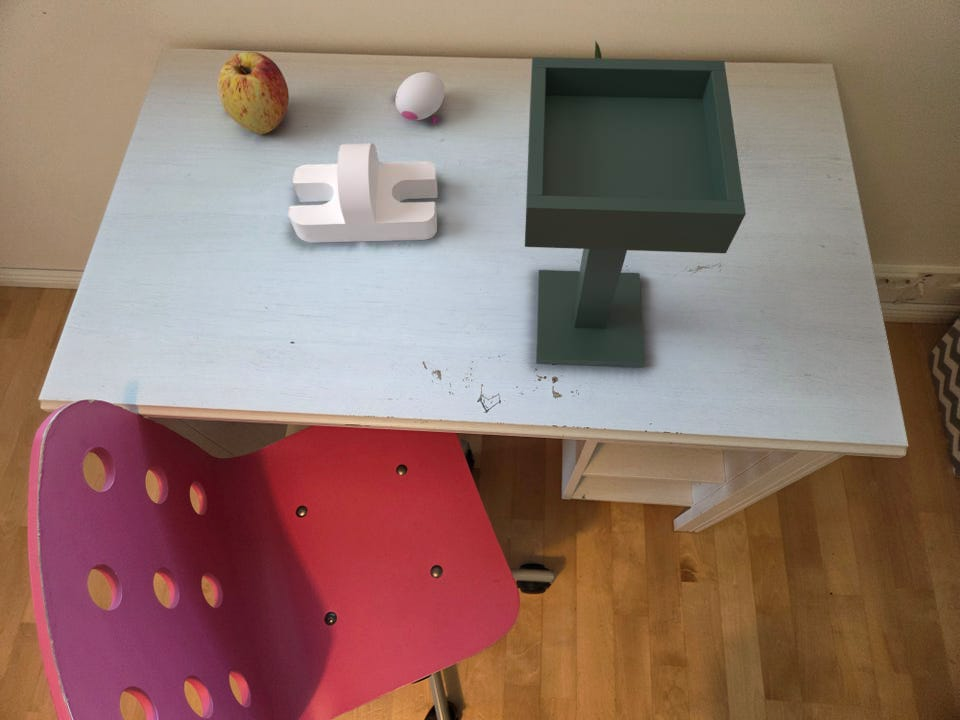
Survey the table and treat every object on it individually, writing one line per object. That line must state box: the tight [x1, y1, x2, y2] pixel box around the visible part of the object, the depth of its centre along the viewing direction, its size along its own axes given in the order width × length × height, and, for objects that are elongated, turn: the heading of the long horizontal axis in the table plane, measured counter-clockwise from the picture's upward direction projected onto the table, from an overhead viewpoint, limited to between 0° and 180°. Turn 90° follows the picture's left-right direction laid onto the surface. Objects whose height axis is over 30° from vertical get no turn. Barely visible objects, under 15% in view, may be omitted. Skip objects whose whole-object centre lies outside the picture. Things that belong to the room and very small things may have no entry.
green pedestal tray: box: [524, 56, 747, 368], centre depth 68 cm, size 16×16×30 cm
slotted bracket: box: [287, 142, 439, 244], centre depth 85 cm, size 18×10×10 cm, turn 91°
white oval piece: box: [394, 71, 446, 124], centre depth 95 cm, size 8×8×7 cm
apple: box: [217, 51, 290, 135], centre depth 92 cm, size 9×9×10 cm
